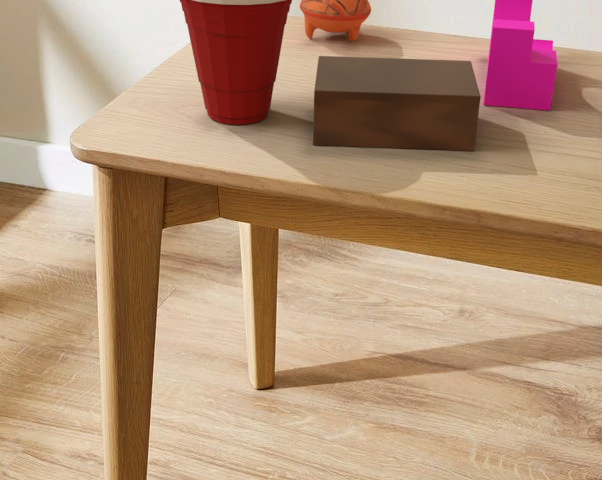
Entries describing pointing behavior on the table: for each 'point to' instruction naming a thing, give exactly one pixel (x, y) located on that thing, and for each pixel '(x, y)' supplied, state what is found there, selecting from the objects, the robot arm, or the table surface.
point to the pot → (335, 16)
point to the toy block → (518, 60)
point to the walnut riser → (395, 103)
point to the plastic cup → (236, 54)
